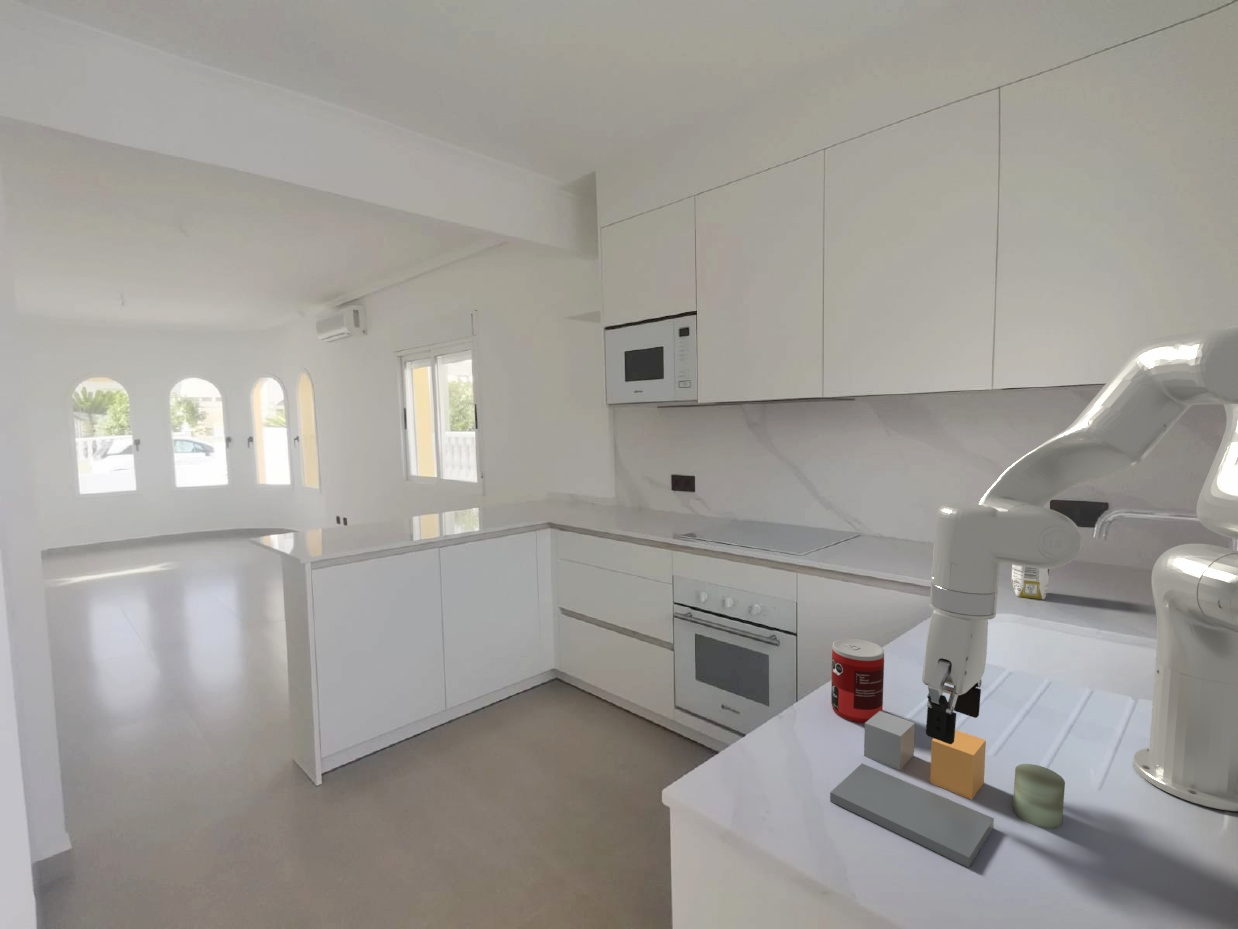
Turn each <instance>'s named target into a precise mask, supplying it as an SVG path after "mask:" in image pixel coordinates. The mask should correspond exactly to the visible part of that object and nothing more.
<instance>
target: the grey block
mask: <svg viewBox="0 0 1238 929" xmlns="http://www.w3.org/2000/svg"><path fill="white" fill-rule="evenodd" d="M915 725H916V724H915V722H913V721H910V720H908V719H904V718H902V717H900V716H895V715H892V714H890V713H886V712H884V711H883V710H882V711H879V712H878V713H877V714H875V715H874V716H873V717H872V718H870V719H869V720H868V721H867V722H865V723H864V734H863V735H864V739H863V740H864V741H863V744H864V745H863V756H864V757H866V758H868V759H871V760H873V761H876V762H878V763H881V764H883V765H885V766H888V767H891V768H892V769H895V770H897V771H900V770H902V769H903V767H904V766H905V765H906V764H908V762H909V761H910V760H911V759H913V757H914V755H915V754H914V753H915Z"/></svg>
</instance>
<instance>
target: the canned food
mask: <svg viewBox="0 0 1238 929" xmlns="http://www.w3.org/2000/svg"><path fill="white" fill-rule="evenodd" d="M884 672H885V651H884V649H883V647H882V646H880V645H879V644H877V643H874V642H873V641H869V640H865V639H861V638H860V639H858V638H840V639H837V640H835V641H833V642H832V648H831V688H830V689H831V690H830V691H831V694H830V698H831V699H830V702H831V708H832V710H833V712H834V713H835V714H836V715H838V716H839V717H841V718H843V719H845V720H846V721H850V722H855V723H861V724H862V723H863V724H865V722H867V721H868V720H869V719H870V718H872V717H873V716H874V715H875V714H877V713H878V712H879V711H882V712H883V711H884V710H883V707H884V706H883V705H884V704H883V703H884V676H885V673H884Z"/></svg>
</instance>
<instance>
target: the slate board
mask: <svg viewBox="0 0 1238 929" xmlns="http://www.w3.org/2000/svg"><path fill="white" fill-rule="evenodd" d="M829 793H830V794H829V795H830V796H829V799H830V800H829V801H830V802H831V803H832V804H835V805H836V806H837V805H838V806H839V807H840V808H843V809H845V810H847V811H849V812H852V813H853V814H855V815H857V816H860V817H863V818H864V819H866V820H868V821H870V822H872V823H875V824H876V825H878V826H881V827H883V828H885V829H887V830H889V831H891V832H893V833H895V834H897V835H899V836H902V837H904V838H906V839H908V840H910V841H912V842H914V843H916V844H918V845H921V846H923V847H925V848H926V849H929V850H930V851H933V852H935V853H936V854H939V855H941V856H943V857H945V858H947V859H950V860H951V861H954V862H955V863H958V864H960V865H962V866H964V867H966V868H968V869H969V868H970V866H971V865H972V863H973V862H974V860H975V858H976V857H977V855H978V854H979V851H980V850H981V849H982V847H983V846H984V844H985V842H986V840H987V839H988V837H989V836H990V834H991V833H992V831H993V830H994V828H995V827H994V826H995V825H994V823H995V817H992V816H989V815H988V814H984V813H983V812H979V811H977V810H975V809H973V808H970V807H967V806H965V805H963V804H961V803H958V802H956V801H953V800H951V799H949V798H946V797H944V796H942V795H938V794H936V793H934V792H932V791H929V790H928V789H924V788H922V787H920V786H918V785H915V784H913V783H911V782H907V781H906V780H903V779H900V778H899V777H895V776H893V775H891V774H889V773H886V772H884V771H882V770H879V769H877V768H874V767H872V766H869V765H867V764H864V763H861V764H859V765H858V766H857V767H856V768H855V769H854V770H853V771H852V772H851V773H849V775H848V776H846V777H845V778H844V779H843V780H842V781H841V782H840V783H839V784H838V785H836V787H834V788H833V789H832V790H831V791H830V792H829Z"/></svg>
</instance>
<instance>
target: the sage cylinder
mask: <svg viewBox="0 0 1238 929" xmlns="http://www.w3.org/2000/svg"><path fill="white" fill-rule="evenodd" d="M1013 784H1014V787H1013V800H1012V809H1013V812H1014V813H1015V815H1016V816H1017V817H1018V818H1020V819H1022V820H1023V821H1024V822H1026V823H1029V824H1031V825H1033V826H1035V827H1039V828H1043V829H1044V828H1045V829H1056V828H1057V829H1058V828H1059V827H1061V826H1062V824H1063V818H1064V817H1063V816H1064V803H1065V802H1064V801H1065V789H1066V788H1065V787H1066V782H1065V780H1064V778H1063V777H1062V776H1061V775H1059V774H1058V773H1057V772H1055V771H1054V770H1051V769H1049V768H1047V767H1044V766H1041V765H1039V764H1032V763H1021V764H1018V765H1016V767H1015V770H1014V783H1013Z"/></svg>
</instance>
